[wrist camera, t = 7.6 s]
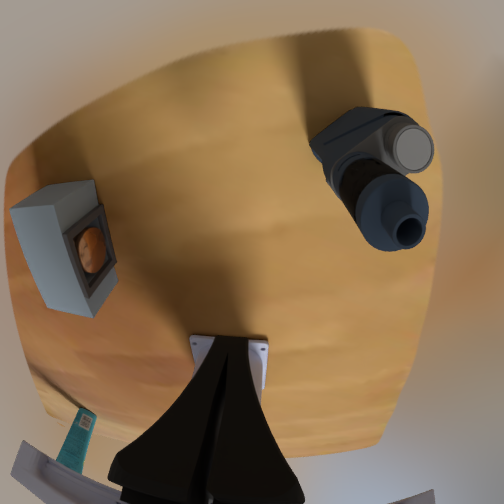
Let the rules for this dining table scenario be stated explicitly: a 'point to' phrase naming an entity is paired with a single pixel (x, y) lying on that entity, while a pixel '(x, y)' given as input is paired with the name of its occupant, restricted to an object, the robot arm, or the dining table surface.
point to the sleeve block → (64, 246)
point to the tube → (77, 441)
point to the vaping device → (378, 173)
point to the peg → (90, 249)
